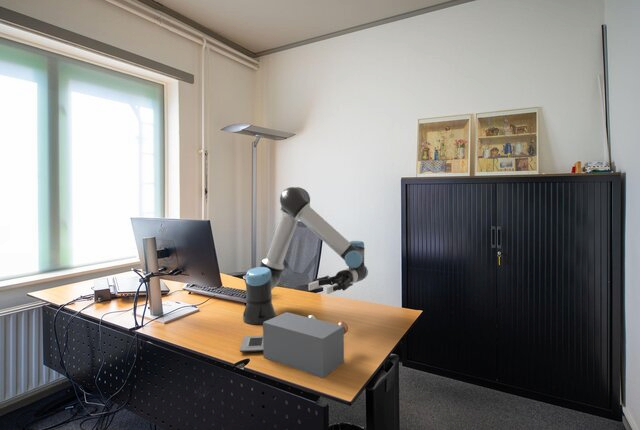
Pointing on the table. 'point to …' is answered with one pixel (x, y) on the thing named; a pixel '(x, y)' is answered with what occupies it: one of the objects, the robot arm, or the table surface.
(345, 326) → the plug terracotta
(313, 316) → the silver metal peg
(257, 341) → the electrical outlet
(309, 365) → the housing
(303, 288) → the table surface
